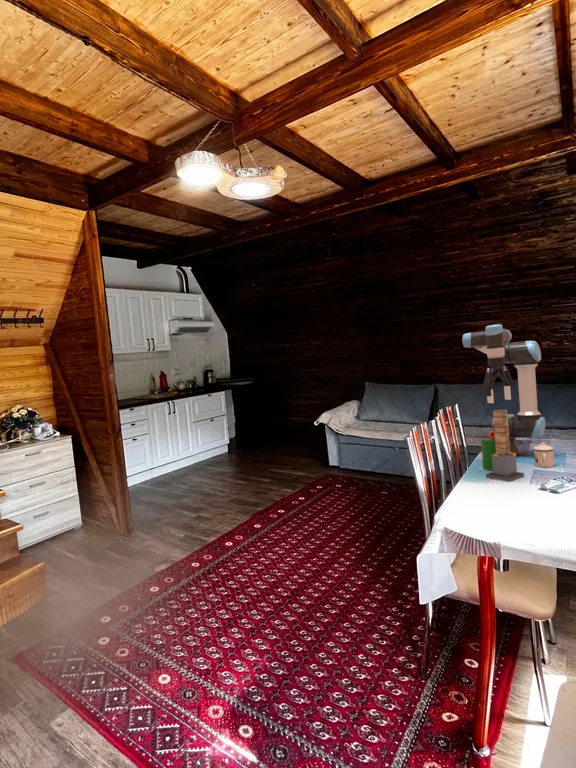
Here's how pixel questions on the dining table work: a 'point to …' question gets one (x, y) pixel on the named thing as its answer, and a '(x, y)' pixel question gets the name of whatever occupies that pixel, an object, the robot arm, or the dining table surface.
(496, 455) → the stand base
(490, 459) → the motor
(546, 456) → the teacup with lid
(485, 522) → the dining table surface
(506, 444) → the column
